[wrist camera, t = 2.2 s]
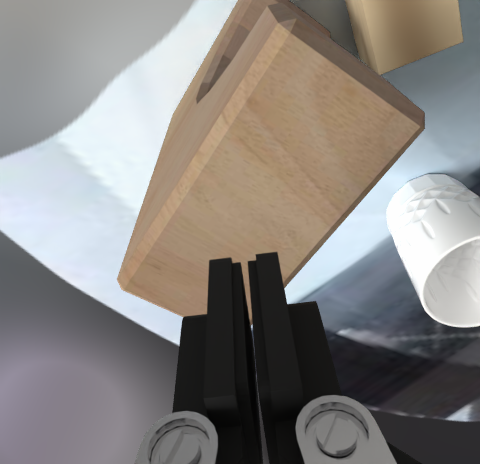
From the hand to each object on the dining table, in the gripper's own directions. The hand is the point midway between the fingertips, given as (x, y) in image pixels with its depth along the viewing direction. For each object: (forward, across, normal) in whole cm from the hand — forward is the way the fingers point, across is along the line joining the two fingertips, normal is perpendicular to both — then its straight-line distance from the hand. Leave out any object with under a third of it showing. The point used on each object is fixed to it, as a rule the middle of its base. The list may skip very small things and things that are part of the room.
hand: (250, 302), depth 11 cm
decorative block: (+24, -1, 0) cm, 24 cm away
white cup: (+24, -15, +13) cm, 31 cm away
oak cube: (+24, -11, -3) cm, 27 cm away
